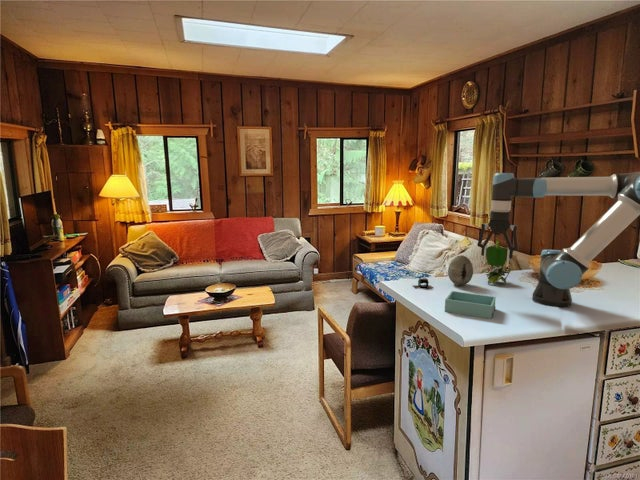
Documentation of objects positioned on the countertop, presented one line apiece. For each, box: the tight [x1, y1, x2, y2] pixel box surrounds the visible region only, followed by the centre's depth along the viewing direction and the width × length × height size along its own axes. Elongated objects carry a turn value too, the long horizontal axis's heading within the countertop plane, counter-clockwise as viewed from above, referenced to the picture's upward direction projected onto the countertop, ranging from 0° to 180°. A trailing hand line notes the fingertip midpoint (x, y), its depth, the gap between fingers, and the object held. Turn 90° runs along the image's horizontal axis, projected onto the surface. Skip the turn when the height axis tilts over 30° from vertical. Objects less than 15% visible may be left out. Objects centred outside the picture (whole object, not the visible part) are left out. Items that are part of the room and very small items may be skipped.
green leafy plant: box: [485, 265, 511, 285], centre depth 208 cm, size 11×11×12 cm
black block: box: [412, 277, 434, 290], centre depth 201 cm, size 12×7×5 cm, turn 95°
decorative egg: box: [447, 254, 474, 286], centre depth 204 cm, size 12×12×15 cm
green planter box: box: [444, 290, 497, 320], centre depth 165 cm, size 18×13×5 cm
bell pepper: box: [486, 240, 509, 267], centre depth 173 cm, size 8×8×10 cm
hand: (495, 264), depth 173 cm, fingers closed on bell pepper, 8 cm apart
